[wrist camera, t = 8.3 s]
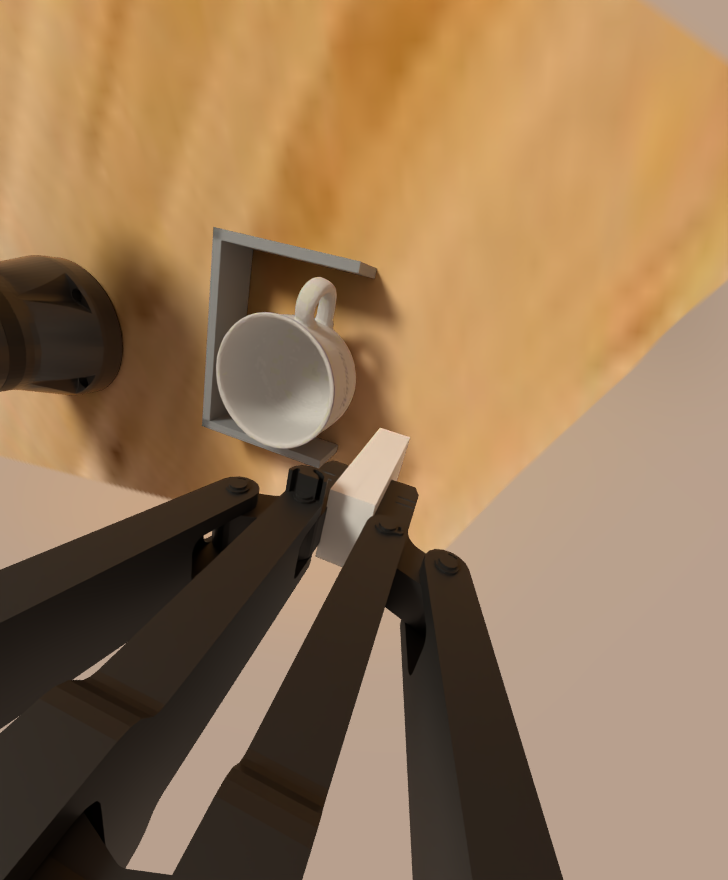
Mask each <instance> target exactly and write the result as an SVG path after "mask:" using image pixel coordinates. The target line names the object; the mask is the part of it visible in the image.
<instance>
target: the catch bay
mask: <svg viewBox="0 0 728 880" xmlns="http://www.w3.org/2000/svg"><path fill="white" fill-rule="evenodd" d="M253 249H254V250H259V251H263V252H267V253H271V254H275V255H279V256H283V257H287V258H291V259H296V260H300V261H304V262H308V263H312V264H316V265H320V266H324V267H328V268H333V269H337V270H341V271H345V272H349V273H353V274H357V275H361V276H365V277H369V278H374V279H375V275H376V270H377V269H376V268H374V267H372V266H369V265H367V264H365V263H363V262H360V261H356V260H351V259H347V258H343V257H339V256H334V255H330V254H326V253H322V252H317V251H313V250H309V249H305V248H300V247H296V246H292V245H288V244H283V243H279V242H275V241H271V240H266V239H262V238H258V237H254V236H249V235H245V234H241V233H237V232H233V231H228V230H224V229H220V228H216V227H214V228H213V246H212V263H211V281H210V298H209V316H208V333H207V351H206V368H205V386H204V403H203V421H202V426H204V427H206V428H209V429H212V430H215V431H217V432H220V433H223V434H226V435H228V436H231V437H234V438H236V439H239V440H242V441H245V442H247V443H250V444H253V445H256V446H258V447H261V448H264V449H267V450H269V451H272V452H275V453H278V454H280V455H283V456H286V457H288V458H291V459H294V460H297V461H299V462H302V463H305V464H308V465H310V466H313V467H316V468H320V467H321V466H322V465H323V464H324V463H325V462H326V461H327V460H329V459H330V458H331V457H332V456H333V455H334V454H335V453H336V452H337V448H338V445H337V444H334V443H331V442H328V441H325V440H322V439H319V438H316V437H315V438H314V439H313V440H311V441H309V442H308V443H306V444H303V445H301V446H298V447H293V448H287V449H280V448H273V447H270V446H266V445H264V444H262V443H260V442H258V441H256V440H254V439H253V438H250V437H249V436H248V435H247V434H246V433H245V432H244V431H243V430H242V429H241V428H240V427H239V426H238V425H237V424H236V422H235V421H234V420H233V419H232V417H231V416H230V414H229V413H228V411H227V409H226V407H225V405H224V403H223V401H222V398H221V396H220V392H219V389H218V384H217V376H216V364H217V355H218V352H219V348H220V345H221V343H222V340H223V338H224V336H225V335H226V334H227V332H228V331H229V330H230V328H231V327H232V326H233V325H234V324H235V323H236V322H238V321H239V320H240V319H242V318H244V317H246V316H247V307H248V297H249V287H250V276H251V266H252V256H253Z"/></svg>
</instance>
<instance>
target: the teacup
mask: <svg viewBox="0 0 728 880" xmlns="http://www.w3.org/2000/svg"><path fill="white" fill-rule="evenodd" d="M336 300H337V293H336V288H335V287H334V285H333V284H332V283H331V282H330V281H328V280H326V279H324V278H322V277H315V278H312V279H311V280H309V281H308V282H307V283H306V284H305V285H304V286H303V288H302V290H301V291H300V293H299V296H298V298H297V301H296V308H295V315H286V314H277V313H271V312H259V313H254V314H251V315H248V316H246V317H244V318H242V319H240V320H239V321H238V322H236V323H235V324H234V325H233V326H232V327H231V328H230V330H229V331H228V332H227V334H226V335H225V336H224V338H223V340H222V343H221V345H220V348H219V352H218V355H217V364H216V376H217V384H218V389H219V392H220V396H221V398H222V401H223V403H224V405H225V407H226V409H227V411H228V413H229V414H230V416H231V417H232V419H233V420H234V421H235V422H236V424H237V425H238V426H239V427H240V428H241V429H242V430H243V431H244V432H245V433H246V434H247V435H248V436H249V437H250V438H253V439H254V440H256V441H258V442H260V443H262V444H264V445H266V446H270V447H273V448H280V449H287V448H293V447H298V446H301V445H303V444H306V443H308V442H309V441H311V440H313V439H314V438H315V437H316V436H317V435H318V434H319V433H321V432H323V431H324V430H326V429H327V428H328V427H330V426H331V425H332V424H334V423H335V422H336V421H337V420H338V419H339V418H340V417H341V416H342V415H343V414H344V413H345V411H346V410H347V408H348V407H349V405H350V403H351V401H352V398H353V395H354V392H355V386H356V371H355V364H354V361H353V358H352V355H351V352H350V350H349V348H348V346H347V345H346V343H345V342H344V340H343V339H342V338H341V337H340V336H339V335H338V334H337V333H336V332H335V331H334V330H333V325H334V324H333V317H334V312H335V306H336ZM318 302H319V305H318V311H317V315H316V318H315V319H314V312H315V308H316V306H317V304H318Z"/></svg>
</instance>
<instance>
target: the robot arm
mask: <svg viewBox="0 0 728 880" xmlns="http://www.w3.org/2000/svg"><path fill="white" fill-rule="evenodd" d="M121 359H122V337H121V331H120V326H119V323H118V319H117V316H116V313H115V311H114V308H113V306H112V304H111V302H110V300H109V298H108V297H107V295H106V293H105V292H104V290H103V289H102V287H101V286H100V285H99V283H98V282H97V281H96V280H95V279H94V278H93V277H92V276H91V275H90V274H89V273H88V272H87V271H86V270H85V269H83V268H82V267H81V266H79V265H78V264H76V263H74V262H72V261H69V260H67V259H63V258H56V257H48V256H41V255H31V256H25V257H20V258H15V259H9V260H4V261H0V392H1V391H8V390H25V391H35V392H45V393H55V394H65V395H80V394H85V393H91V392H96V391H99V390H102V389H104V388H105V387H107V386H108V385H109V384H110V383H111V382H112V381H113V380H114V378H115V377H116V375H117V373H118V370H119V368H120V364H121ZM409 439H410V437H408V436H404V435H401V434H398V433H395V432H392V431H389V430H386V429H383V428H379V430H378V431H377V432H376V433H375V434H374V436H373V437H372V438H371V439H370V441H369V442H368V443H367V444H366V446H365V447H364V448H363V449H362V451H361V452H360V453H359V454H358V455H357V457H356V458H355V459H354V460H353V462H352V463H351V464H350V465H349V466H348V465H345V464H342V463H339V462H337V461H334V460H333V461H330V462H327V463H324V464H323V465H322V466H321V467H320V468H319V469H318V468H316V467H312V466H304V465H300V466H294V467H292V468H290V469H289V473H288V479H287V485H286V491H285V492H284V493H283V494H282V495H281V496H271V495H264V494H259V486H258V484H257V483H256V482H255V481H253V480H251V479H248V478H245V477H229V478H225V479H222V480H220V481H217V482H215V483H212V484H210V485H207V486H205V487H202V488H200V489H198V490H195V491H193V492H190V493H188V494H185V495H183V496H180V497H178V498H175V499H173V500H171V501H168V502H166V503H163V504H161V505H158V506H156V507H153V508H151V509H148V510H146V511H144V512H141V513H139V514H136V515H134V516H131V517H129V518H126V519H124V520H122V521H119V522H117V523H114V524H112V525H109V526H107V527H104V528H102V529H100V530H97V531H94V532H92V533H90V534H87V535H85V536H82V537H80V538H77V539H75V540H73V541H70V542H68V543H65V544H63V545H60V546H58V547H55V548H53V549H50V550H48V551H46V552H43V553H41V554H38V555H35V556H33V557H31V558H28V559H26V560H23V561H21V562H19V563H16V564H13V565H11V566H9V567H6V568H4V569H1V570H0V729H1V728H2V727H4V726H5V725H7V724H8V723H10V722H11V721H13V720H14V719H16V718H17V717H18V716H19V717H18V718H17V719H16V720H15V721H14V722H12V723H11V724H10V725H9V726H8V727H7V728H6V729H5V730H4V731H2V732H1V733H0V880H302V879H303V875H304V872H305V869H306V865H307V862H308V859H309V856H310V852H311V849H312V846H313V842H314V839H315V836H316V832H317V829H318V826H319V822H320V819H321V815H322V811H323V807H324V804H325V800H326V797H327V794H328V790H329V787H330V784H331V781H332V777H333V774H334V771H335V768H336V764H337V761H338V758H339V755H340V751H341V748H342V745H343V741H344V738H345V734H346V731H347V729H348V725H349V722H350V719H351V715H352V712H353V709H354V706H355V702H356V699H357V696H358V693H359V690H360V686H361V683H362V680H363V676H364V673H365V670H366V666H367V664H368V660H369V657H370V654H371V650H372V647H373V644H374V641H375V637H376V634H377V631H378V628H379V624H380V621H381V618H382V615H383V611H384V608H385V607H386V608H387V609H388V610H390V611H391V612H392V613H394V614H395V615H396V616H398V617H399V618H400V619H401V623H400V632H401V652H402V671H403V692H404V712H405V732H406V753H407V773H408V792H409V813H410V833H411V853H412V873H413V880H563V877H562V874H561V871H560V867H559V864H558V861H557V858H556V854H555V851H554V847H553V844H552V841H551V838H550V835H549V831H548V828H547V824H546V821H545V818H544V815H543V811H542V808H541V805H540V802H539V798H538V795H537V792H536V788H535V785H534V782H533V778H532V775H531V772H530V769H529V766H528V762H527V759H526V756H525V752H524V749H523V746H522V742H521V739H520V736H519V732H518V729H517V726H516V723H515V719H514V716H513V713H512V710H511V706H510V703H509V700H508V696H507V693H506V690H505V687H504V683H503V680H502V677H501V673H500V670H499V667H498V663H497V660H496V657H495V654H494V650H493V647H492V644H491V640H490V637H489V634H488V630H487V627H486V624H485V621H484V617H483V614H482V611H481V607H480V604H479V601H478V598H477V595H476V591H475V588H474V584H473V581H472V578H471V575H470V571H469V569H468V567H467V565H466V563H464V561H462V559H460V558H459V557H458V556H456V555H455V554H453V553H451V552H448V551H445V550H439V549H434V550H430V551H428V552H427V553H424V552H423V551H421V550H420V549H418V548H417V547H416V546H415V545H414V544H413V543H412V542H411V540H410V539H409V536H408V529H409V525H410V522H411V519H412V516H413V512H414V509H415V506H416V502H417V499H418V496H419V495H418V493H417V490H416V488H415V487H412V486H409V485H406V484H403V483H400V482H397V479H398V476H399V473H400V469H401V466H402V463H403V459H404V456H405V453H406V449H407V446H408V443H409ZM211 531H212V536H210V537H208V538H206V539H204V537H203V536H204V535H205V534H207V533H209V532H211ZM317 546H318V547H317ZM316 547H317V551H316V557H318V558H321V559H323V560H326V561H328V562H331V563H333V564H336V565H338V566H341V567H342V569H341V571H340V573H339V575H338V577H337V579H336V581H335V583H334V585H333V587H332V589H331V591H330V592H329V594H328V596H327V598H326V600H325V602H324V604H323V606H322V608H321V610H320V612H319V614H318V616H317V617H316V619H315V621H314V623H313V625H312V627H311V629H310V631H309V633H308V635H307V637H306V639H305V640H304V643H303V645H302V646H301V648H300V650H299V652H298V654H297V656H296V658H295V660H294V662H293V663H292V666H291V667H290V669H289V671H288V673H287V675H286V677H285V679H284V681H283V683H282V685H281V687H280V688H279V691H278V692H277V694H276V696H275V698H274V700H273V702H272V704H271V706H270V708H269V710H268V712H267V713H266V715H265V717H264V719H263V721H262V723H261V725H260V727H259V729H258V731H257V733H256V735H255V737H254V739H253V740H252V742H251V744H250V746H249V748H248V750H247V752H246V754H245V755H244V757H243V758H242V760H241V761H240V763H238V764H237V765H235V766H234V767H233V768H232V769H231V771H230V772H229V773H228V775H227V776H226V778H225V779H224V781H223V783H222V784H221V787H220V788H219V790H218V791H217V793H216V795H215V797H214V798H213V801H212V802H211V804H210V806H209V808H208V810H207V811H206V813H205V815H204V817H203V819H202V821H201V823H200V825H199V827H198V828H197V830H196V832H195V834H194V836H193V837H192V839H191V841H190V843H189V845H188V847H187V849H186V850H185V853H184V854H183V856H182V858H181V860H180V862H179V863H178V865H177V867H176V869H175V871H174V873H173V875H166V874H160V873H152V872H145V871H137V870H130V869H125V868H126V866H127V864H128V863H129V861H130V859H131V857H132V856H133V854H134V852H135V850H136V849H137V847H138V845H139V843H140V841H141V839H142V837H143V835H144V833H145V831H146V828H147V826H148V823H149V820H150V818H151V816H152V813H153V811H154V809H155V807H156V805H157V803H158V801H159V799H160V798H161V796H162V794H163V792H164V791H165V789H166V788H167V786H168V785H169V783H170V782H171V780H172V778H173V777H174V775H175V774H176V772H177V771H178V769H179V767H180V766H181V764H182V763H183V761H184V760H185V758H186V757H187V755H188V754H189V752H190V750H191V749H192V747H193V746H194V744H195V743H196V741H197V739H198V738H199V736H200V735H201V733H202V732H203V730H204V729H205V727H206V726H207V724H208V722H209V721H210V719H211V718H212V716H213V715H214V713H215V712H216V710H217V708H218V707H219V705H220V704H221V702H222V701H223V699H224V698H225V696H226V695H227V693H228V691H229V690H230V688H231V686H232V685H233V684H234V682H235V681H236V679H237V677H238V676H239V674H240V673H241V671H242V669H243V668H244V667H245V665H246V663H247V662H248V660H249V659H250V657H251V656H252V654H253V653H254V651H255V649H256V648H257V646H258V645H259V643H260V642H261V640H262V638H263V637H264V635H265V634H266V632H267V631H268V629H269V628H270V626H271V625H272V623H273V621H274V620H275V618H276V617H277V615H278V614H279V612H280V610H281V609H282V607H283V606H284V604H285V603H286V601H287V600H288V598H289V597H290V595H291V593H292V592H293V590H294V589H295V587H296V586H297V584H298V583H299V581H300V580H301V578H302V576H303V575H304V573H305V572H306V570H307V569H308V567H309V565H310V561H311V557H312V553H313V552H314V550H315V549H316ZM125 643H126V644H125ZM124 644H125V645H124ZM122 645H124V646H123V647H122V648H121V649H120V650H119V651H118V652H117V653H116V654H115V655H114V656H113V657H111V658H110V659H109V660H108V661H107V662H106V663H105V664H104V665H103V666H102V667H101V668H100V669H99V670H98V671H97V672H95V673H94V674H93V675H92V676H91V677H89V678H87V679H84V680H73V679H74V678H75V677H77V676H78V675H80V674H81V673H83V672H84V671H86V670H87V669H89V668H90V667H91V666H93V665H95V664H96V663H97V662H99V661H100V660H102V659H103V658H105V657H106V656H108V655H109V654H111V653H112V652H113V651H115V650H116V649H118V648H119V647H120V646H122Z"/></svg>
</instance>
